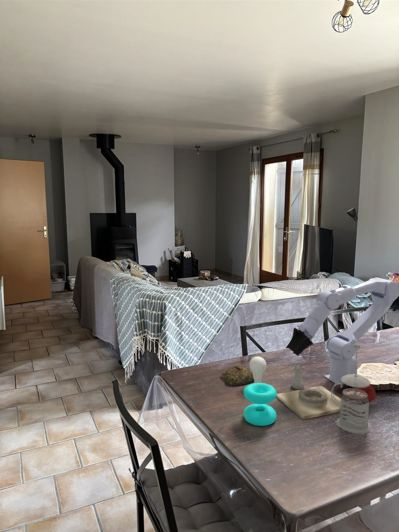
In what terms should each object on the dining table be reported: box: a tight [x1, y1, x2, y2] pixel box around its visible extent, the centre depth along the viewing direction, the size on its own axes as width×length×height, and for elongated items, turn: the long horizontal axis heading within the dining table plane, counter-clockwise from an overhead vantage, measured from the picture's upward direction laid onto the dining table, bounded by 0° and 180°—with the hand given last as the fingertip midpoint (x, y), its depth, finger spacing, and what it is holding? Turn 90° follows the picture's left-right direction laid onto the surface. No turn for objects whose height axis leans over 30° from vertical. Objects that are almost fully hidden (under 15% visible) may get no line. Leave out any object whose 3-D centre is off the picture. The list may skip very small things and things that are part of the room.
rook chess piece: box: [291, 364, 305, 390], centre depth 145 cm, size 4×4×8 cm
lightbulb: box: [248, 356, 267, 383], centre depth 146 cm, size 6×6×11 cm
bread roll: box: [220, 364, 254, 386], centre depth 154 cm, size 13×12×5 cm
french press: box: [330, 343, 372, 435], centre depth 119 cm, size 10×12×25 cm
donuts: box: [243, 382, 278, 427], centre depth 123 cm, size 10×10×10 cm
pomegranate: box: [356, 384, 377, 404], centre depth 132 cm, size 6×6×8 cm
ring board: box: [276, 385, 352, 420], centre depth 133 cm, size 18×16×3 cm
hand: (292, 352), depth 143 cm, fingers open, 7 cm apart
